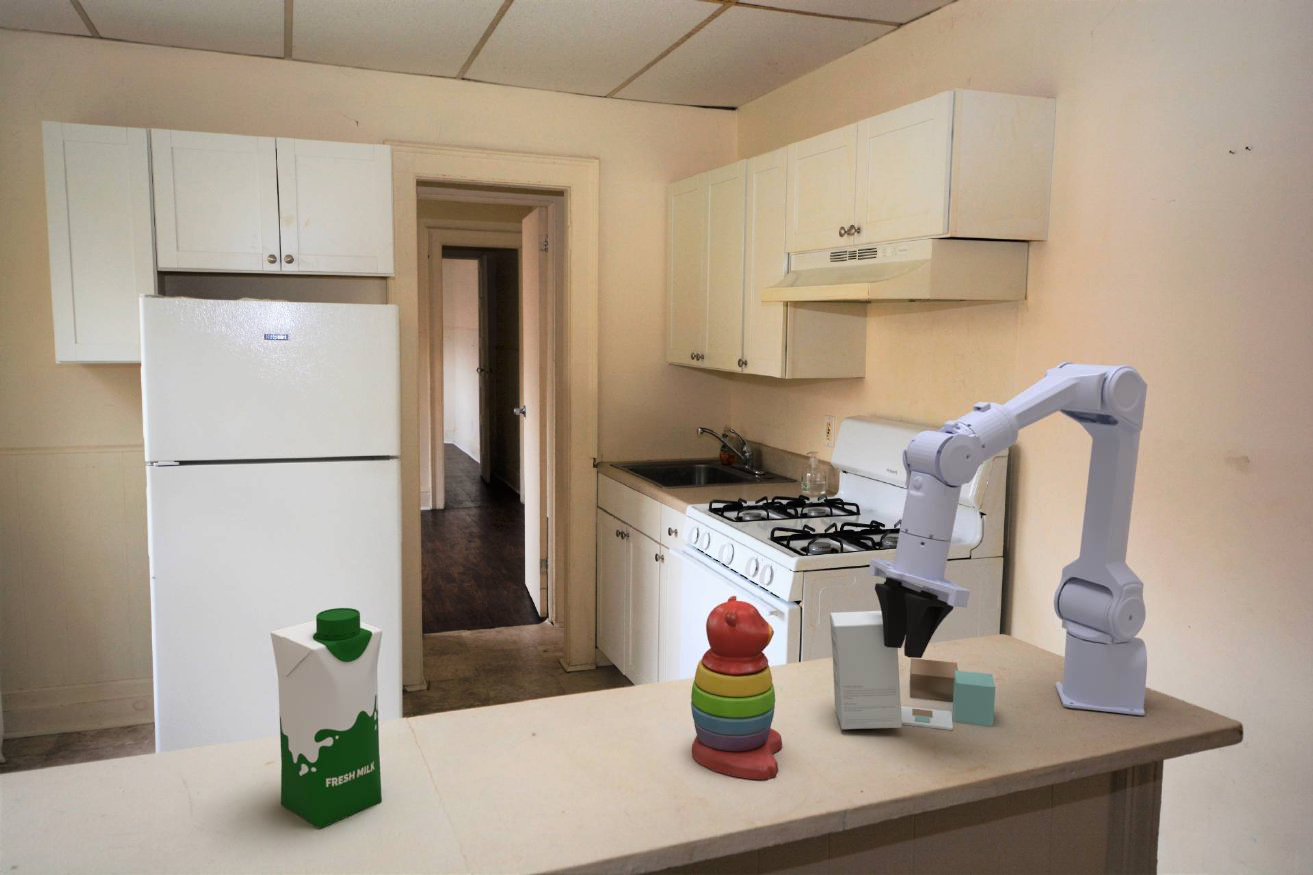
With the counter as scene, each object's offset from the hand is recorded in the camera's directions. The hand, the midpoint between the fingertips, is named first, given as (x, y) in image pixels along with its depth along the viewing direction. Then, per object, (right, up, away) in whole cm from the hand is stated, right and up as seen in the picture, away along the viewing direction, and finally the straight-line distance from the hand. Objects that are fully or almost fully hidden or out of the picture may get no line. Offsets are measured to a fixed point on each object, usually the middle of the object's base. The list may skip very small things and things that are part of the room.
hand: (902, 651), depth 108 cm
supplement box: (-3, -10, +7) cm, 12 cm away
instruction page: (+5, -10, +9) cm, 14 cm away
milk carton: (-61, -12, -14) cm, 64 cm away
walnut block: (+9, -9, +17) cm, 22 cm away
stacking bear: (-19, -11, -2) cm, 23 cm away
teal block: (+11, -10, +9) cm, 18 cm away
